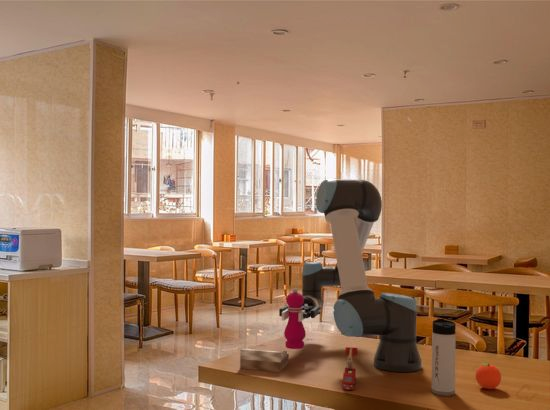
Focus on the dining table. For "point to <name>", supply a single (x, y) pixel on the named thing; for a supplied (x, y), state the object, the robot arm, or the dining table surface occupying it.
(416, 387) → the dining table surface
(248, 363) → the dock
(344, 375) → the toy fire truck
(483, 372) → the clementine
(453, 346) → the travel mug
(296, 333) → the pepper mill
